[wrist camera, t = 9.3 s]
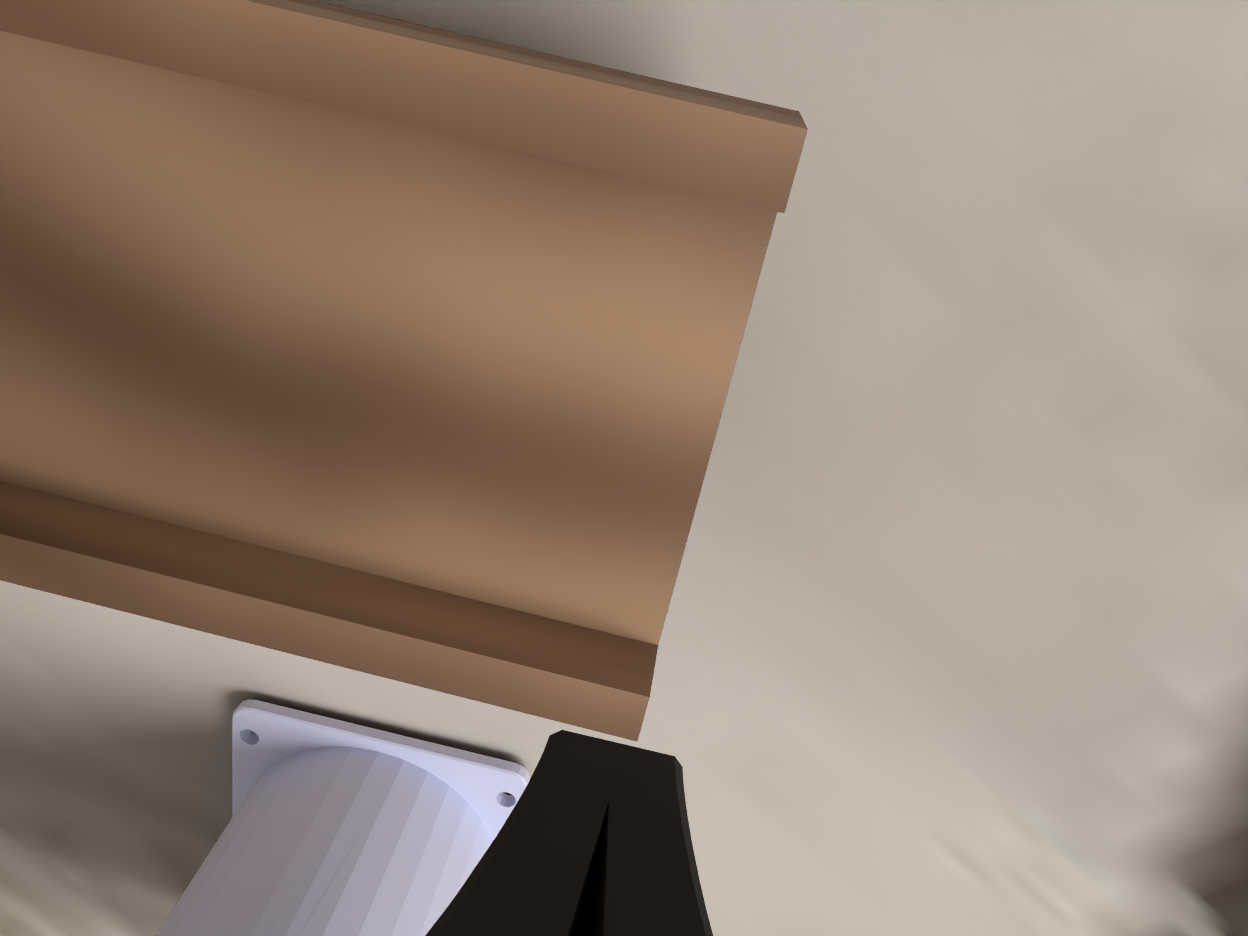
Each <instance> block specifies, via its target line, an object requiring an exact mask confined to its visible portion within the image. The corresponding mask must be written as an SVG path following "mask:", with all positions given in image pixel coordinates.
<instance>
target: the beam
mask: <svg viewBox="0 0 1248 936" xmlns="http://www.w3.org/2000/svg"><path fill="white" fill-rule="evenodd" d="M807 130H808V129H807V127H806V125H805V123H804V121H803V119H802V116H801V114H800V112H799V111H795V110H790V109H786V108H781V107H777V106H773V105H768V104H764V103H760V102H755V101H751V100H747V99H742V98H738V97H733V96H729V95H725V94H720V93H716V92H712V91H707V90H703V89H698V88H694V87H690V86H685V85H681V84H677V83H672V82H668V81H663V80H659V79H655V78H650V77H646V76H642V75H637V74H633V73H629V72H624V71H620V70H615V69H611V68H607V67H602V66H598V65H594V64H589V63H585V62H580V61H576V60H572V59H567V58H563V57H559V56H554V55H550V54H545V53H541V52H537V51H532V50H528V49H524V48H519V47H515V46H510V45H506V44H502V43H497V42H493V41H489V40H484V39H480V38H476V37H471V36H467V35H462V34H458V33H454V32H449V31H445V30H441V29H436V28H432V27H427V26H423V25H419V24H414V23H410V22H406V21H401V20H397V19H392V18H388V17H384V16H379V15H375V14H371V13H366V12H362V11H357V10H353V9H349V8H344V7H340V6H336V5H331V4H327V3H323V2H318V1H314V0H0V580H2V581H6V582H10V583H14V584H18V585H22V586H26V587H30V588H34V589H37V590H41V591H45V592H49V593H53V594H57V595H61V596H65V597H69V598H73V599H77V600H81V601H85V602H89V603H93V604H97V605H101V606H105V607H109V608H112V609H116V610H120V611H124V612H128V613H132V614H136V615H140V616H144V617H148V618H152V619H156V620H160V621H164V622H168V623H172V624H176V625H180V626H184V627H187V628H191V629H195V630H199V631H203V632H207V633H211V634H215V635H219V636H223V637H227V638H231V639H235V640H239V641H243V642H247V643H251V644H255V645H259V646H263V647H266V648H270V649H274V650H278V651H282V652H286V653H290V654H294V655H298V656H302V657H306V658H310V659H314V660H318V661H322V662H326V663H330V664H334V665H338V666H341V667H345V668H349V669H353V670H357V671H361V672H365V673H369V674H373V675H377V676H381V677H385V678H389V679H393V680H397V681H401V682H405V683H409V684H413V685H416V686H420V687H424V688H428V689H432V690H436V691H440V692H444V693H448V694H452V695H456V696H460V697H464V698H468V699H472V700H476V701H480V702H484V703H488V704H492V705H495V706H499V707H503V708H507V709H511V710H515V711H519V712H523V713H527V714H531V715H535V716H539V717H543V718H547V719H551V720H555V721H559V722H563V723H567V724H570V725H574V726H578V727H582V728H586V729H590V730H594V731H598V732H602V733H606V734H610V735H614V736H618V737H622V738H626V739H630V740H634V741H637V740H638V737H639V733H640V729H641V726H642V722H643V719H644V715H645V711H646V708H647V704H648V701H649V697H650V691H651V685H652V679H653V673H654V667H655V661H656V655H657V649H658V644H659V640H660V636H661V633H662V629H663V626H664V622H665V618H666V615H667V611H668V607H669V604H670V600H671V596H672V593H673V589H674V585H675V582H676V578H677V575H678V571H679V567H680V564H681V560H682V556H683V553H684V549H685V545H686V542H687V538H688V534H689V531H690V527H691V524H692V520H693V516H694V513H695V509H696V505H697V502H698V498H699V494H700V491H701V487H702V484H703V480H704V476H705V473H706V469H707V465H708V462H709V458H710V454H711V451H712V447H713V443H714V440H715V436H716V433H717V429H718V425H719V422H720V418H721V414H722V411H723V407H724V403H725V400H726V396H727V392H728V389H729V385H730V382H731V378H732V374H733V371H734V367H735V363H736V360H737V356H738V352H739V349H740V345H741V341H742V338H743V334H744V331H745V327H746V323H747V320H748V316H749V312H750V309H751V305H752V301H753V298H754V294H755V291H756V287H757V283H758V280H759V276H760V272H761V269H762V265H763V261H764V258H765V254H766V250H767V247H768V243H769V240H770V236H771V232H772V229H773V225H774V221H775V218H776V214H777V211H778V212H782V213H784V212H785V209H786V205H787V202H788V198H789V194H790V191H791V187H792V184H793V180H794V176H795V173H796V169H797V166H798V162H799V158H800V155H801V151H802V148H803V144H804V140H805V137H806V133H807Z"/></svg>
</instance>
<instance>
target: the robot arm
mask: <svg viewBox="0 0 1248 936" xmlns="http://www.w3.org/2000/svg"><path fill="white" fill-rule="evenodd" d="M250 730H251V731H253V732H255V733H256V734H255V733H253V732H251V731H250ZM503 792H508V793H510V794H512V795H507V794H504V793H503ZM156 936H713V934H712V930H711V926H710V922H709V919H708V915H707V911H706V907H705V903H704V898H703V894H702V890H701V885H700V881H699V876H698V871H697V866H696V861H695V856H694V851H693V846H692V841H691V835H690V829H689V823H688V817H687V810H686V803H685V794H684V785H683V771H682V766H681V765H680V763H679V762H678V760H677V759H676V758H675V756H671V755H667V754H662V753H658V752H654V751H650V750H645V749H641V748H637V747H633V746H628V745H624V744H620V743H616V742H611V741H607V740H603V739H599V738H594V737H590V736H586V735H582V734H577V733H573V732H569V731H564V730H561V731H559V732H556V733H554V734H552V735H550V737H549V739H548V742H547V744H546V747H545V749H544V752H543V754H542V757H541V759H540V761H539V763H538V765H537V767H536V769H535V771H534V773H533V775H532V777H531V779H530V775H529V773H528V771H527V770H526V769H525V768H524V767H523V766H521V765H519V764H517V763H514V762H510V761H506V760H502V759H498V758H494V757H489V756H485V755H481V754H477V753H473V752H469V751H465V750H461V749H456V748H452V747H448V746H444V745H440V744H436V743H432V742H428V741H423V740H419V739H415V738H411V737H407V736H403V735H399V734H395V733H390V732H386V731H382V730H378V729H374V728H370V727H366V726H362V725H357V724H353V723H349V722H345V721H341V720H337V719H333V718H329V717H324V716H320V715H316V714H312V713H308V712H304V711H300V710H296V709H292V708H287V707H283V706H279V705H275V704H271V703H267V702H263V701H259V700H251V699H248V700H245V701H242V702H241V703H240V704H239V705H238V707H237V708H236V709H235V711H234V712H233V715H232V819H231V820H230V822H229V823H228V825H227V826H226V828H225V829H224V831H223V832H222V834H221V836H220V837H219V839H218V840H217V842H216V843H215V845H214V846H213V848H212V849H211V851H210V853H209V854H208V856H207V857H206V859H205V860H204V862H203V863H202V865H201V866H200V868H199V870H198V871H197V873H196V874H195V876H194V877H193V879H192V880H191V882H190V883H189V885H188V886H187V888H186V890H185V891H184V893H183V894H182V896H181V897H180V899H179V900H178V902H177V903H176V905H175V907H174V908H173V910H172V911H171V913H170V914H169V916H168V917H167V919H166V920H165V922H164V924H163V925H162V927H161V928H160V930H159V931H158V933H157V934H156Z"/></svg>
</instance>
